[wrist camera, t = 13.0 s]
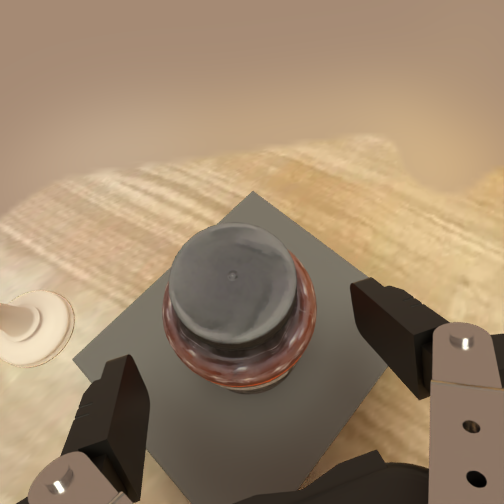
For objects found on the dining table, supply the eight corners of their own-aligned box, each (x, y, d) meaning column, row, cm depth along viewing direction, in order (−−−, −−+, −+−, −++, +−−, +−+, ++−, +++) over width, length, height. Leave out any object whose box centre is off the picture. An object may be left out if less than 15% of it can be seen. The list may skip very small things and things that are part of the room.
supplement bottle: (205, 292, 22) (153, 189, 12) (299, 296, 22) (328, 193, 12) (193, 393, 20) (115, 371, 10) (299, 399, 19) (336, 384, 9)
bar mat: (243, 557, 17) (242, 565, 17) (80, 361, 22) (72, 359, 21) (416, 322, 22) (423, 318, 21) (253, 198, 26) (252, 190, 25)
